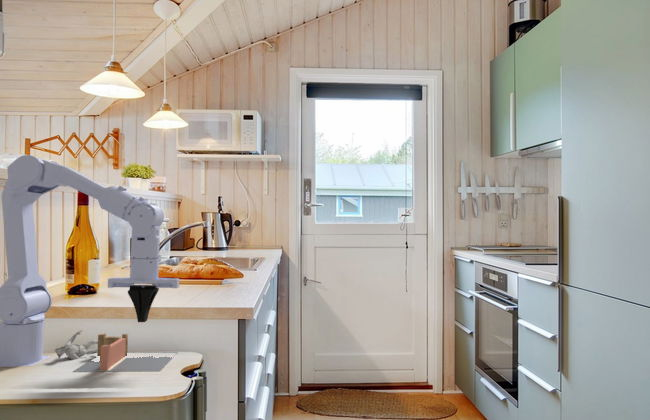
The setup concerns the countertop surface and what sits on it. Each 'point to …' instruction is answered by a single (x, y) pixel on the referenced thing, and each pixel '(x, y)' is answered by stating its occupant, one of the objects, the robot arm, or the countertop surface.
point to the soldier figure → (76, 348)
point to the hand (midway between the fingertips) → (142, 321)
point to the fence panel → (112, 353)
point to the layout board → (129, 364)
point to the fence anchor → (110, 342)
